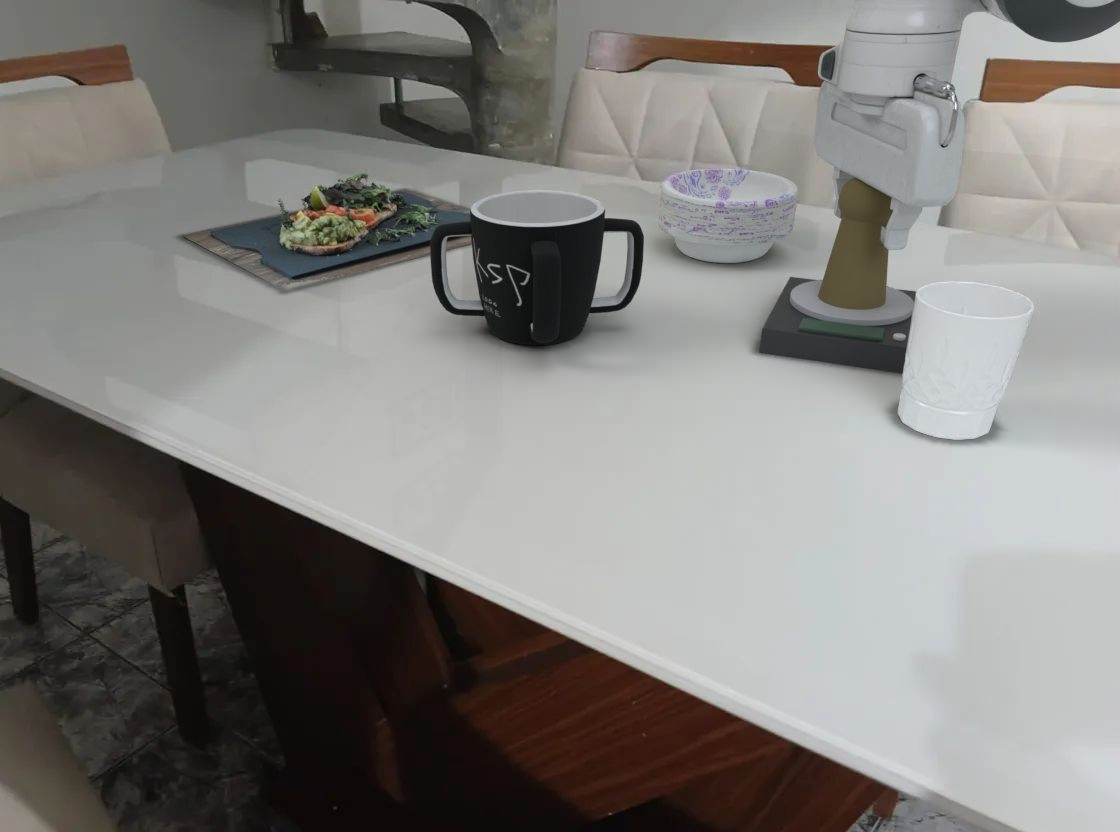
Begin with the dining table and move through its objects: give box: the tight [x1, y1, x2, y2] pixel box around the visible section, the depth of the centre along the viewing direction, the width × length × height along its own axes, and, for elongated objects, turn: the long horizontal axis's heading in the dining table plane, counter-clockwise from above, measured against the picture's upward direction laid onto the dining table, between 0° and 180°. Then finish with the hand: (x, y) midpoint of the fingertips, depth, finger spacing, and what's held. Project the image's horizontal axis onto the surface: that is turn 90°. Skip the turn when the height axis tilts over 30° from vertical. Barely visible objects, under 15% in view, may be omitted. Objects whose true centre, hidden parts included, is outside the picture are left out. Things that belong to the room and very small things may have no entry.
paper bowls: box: [658, 167, 800, 264], centre depth 111 cm, size 15×15×8 cm
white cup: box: [897, 280, 1035, 441], centre depth 73 cm, size 8×8×10 cm
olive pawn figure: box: [818, 178, 893, 310], centre depth 88 cm, size 6×6×11 cm
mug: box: [429, 189, 645, 346], centre depth 90 cm, size 16×16×12 cm
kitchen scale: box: [758, 276, 917, 375], centre depth 90 cm, size 15×13×3 cm
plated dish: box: [181, 172, 472, 287], centre depth 121 cm, size 35×28×7 cm
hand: (867, 232), depth 87 cm, fingers open, 8 cm apart
